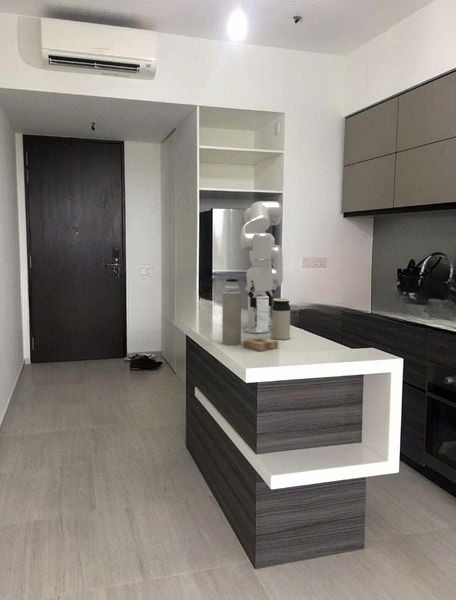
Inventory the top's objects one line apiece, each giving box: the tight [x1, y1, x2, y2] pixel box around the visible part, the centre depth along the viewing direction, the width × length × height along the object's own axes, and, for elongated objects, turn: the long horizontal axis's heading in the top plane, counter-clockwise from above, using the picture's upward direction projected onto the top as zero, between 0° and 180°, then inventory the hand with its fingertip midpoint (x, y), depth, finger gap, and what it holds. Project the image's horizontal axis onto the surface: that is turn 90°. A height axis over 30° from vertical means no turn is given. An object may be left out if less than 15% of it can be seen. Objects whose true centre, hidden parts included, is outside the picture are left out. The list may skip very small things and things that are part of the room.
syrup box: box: [253, 295, 270, 331], centre depth 219 cm, size 6×6×14 cm
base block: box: [242, 337, 279, 353], centre depth 221 cm, size 10×10×3 cm
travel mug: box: [271, 298, 291, 341], centre depth 242 cm, size 8×8×18 cm
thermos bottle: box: [222, 278, 242, 346], centre depth 229 cm, size 8×8×28 cm
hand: (260, 306), depth 219 cm, fingers closed on syrup box, 7 cm apart
